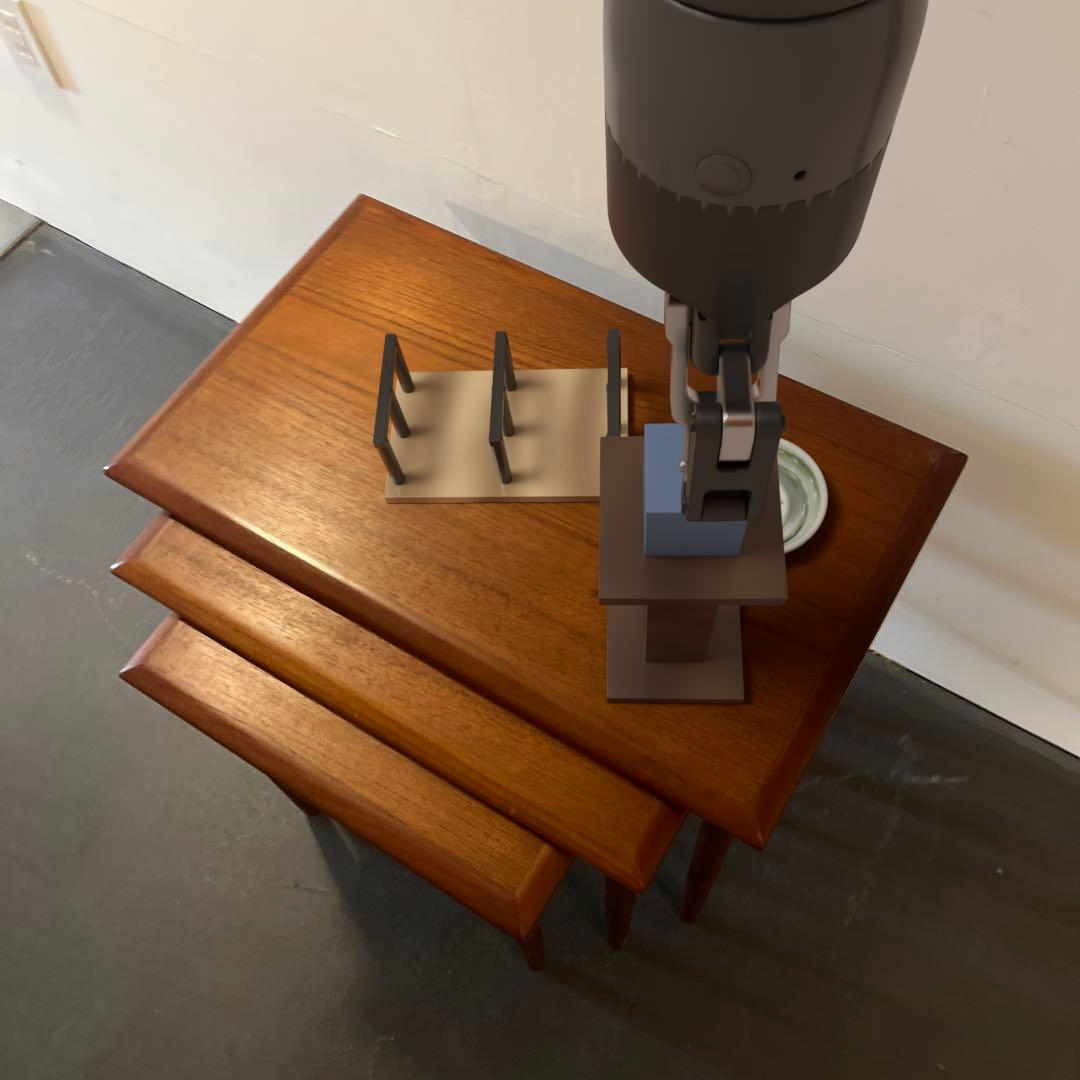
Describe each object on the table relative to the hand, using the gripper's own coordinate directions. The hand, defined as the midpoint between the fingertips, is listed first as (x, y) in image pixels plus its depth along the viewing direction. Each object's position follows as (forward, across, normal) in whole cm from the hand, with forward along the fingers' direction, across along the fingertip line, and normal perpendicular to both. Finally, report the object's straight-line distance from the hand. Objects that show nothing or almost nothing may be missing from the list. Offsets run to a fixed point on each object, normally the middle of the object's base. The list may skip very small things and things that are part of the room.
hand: (704, 414), depth 40 cm
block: (+10, 0, 0) cm, 10 cm away
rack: (+30, +16, +12) cm, 36 cm away
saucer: (+30, +10, -6) cm, 32 cm away
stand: (+30, 0, 0) cm, 30 cm away
